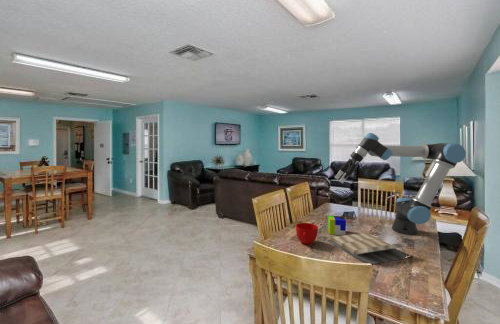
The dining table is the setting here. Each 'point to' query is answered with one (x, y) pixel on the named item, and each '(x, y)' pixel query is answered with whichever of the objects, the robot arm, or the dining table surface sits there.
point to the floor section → (366, 241)
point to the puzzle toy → (336, 225)
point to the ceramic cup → (306, 232)
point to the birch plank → (380, 248)
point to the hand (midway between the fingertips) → (338, 180)
